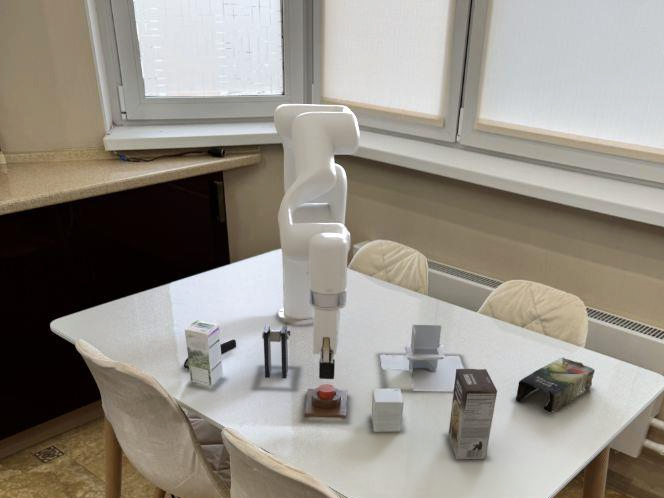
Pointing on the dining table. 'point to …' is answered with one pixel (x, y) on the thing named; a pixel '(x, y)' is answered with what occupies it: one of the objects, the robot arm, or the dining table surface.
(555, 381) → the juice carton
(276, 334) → the switch lever
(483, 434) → the coffee box
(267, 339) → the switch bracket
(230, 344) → the electric trimmer
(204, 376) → the syrup box
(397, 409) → the product box
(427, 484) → the dining table surface
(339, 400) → the button housing
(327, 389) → the button
